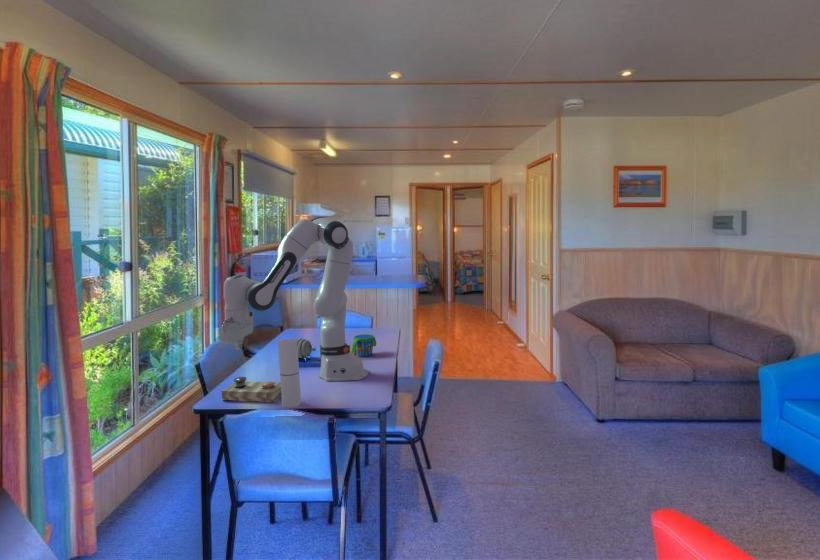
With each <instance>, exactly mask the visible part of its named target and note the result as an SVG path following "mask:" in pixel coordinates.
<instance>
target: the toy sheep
mask: <svg viewBox="0 0 820 560" xmlns="http://www.w3.org/2000/svg"><path fill="white" fill-rule="evenodd" d="M295 339H296V340H297V347H298V358H306V359H307V357H308V356H310V357H311V354H312V352H316V350H317V348H316V347H312V344H311V341H310V340H307V339H305V338H295Z"/></svg>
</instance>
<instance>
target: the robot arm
mask: <svg viewBox="0 0 820 560" xmlns="http://www.w3.org/2000/svg"><path fill="white" fill-rule="evenodd" d="M316 242H319V243H322V244H324V245H327V249H328V251H327V256H326V261H325V266H324V271H323V276H322V278H321V281H320V285H319V288H318V291H317V293H316V297H315V299H314V301H313V304H312V305H313V311H314V313H315V314H316V315H317V316H318V317H320V318H321V323H320V329H319V332H320V333H319V334H320V335H319V336H320V345H319V348H320V349H319V354H320V370H319V374H318V377H319V378H320V379H323V380H325V381H326V382H340V381H341V382H342V381H343V382H344V381H361V380H362V379H365V378H367V377H368V375H369V373H370V372H369V369H368V368H364V363H363V360H362V359H361V357H359V356H358V355H355V354H354V352H351V344H347V343H346V315H347V304H348V296H347V295H348V294H347V293H346V292H345V290H346V285H347V283H348V281H349V278H350V271H351V266H352V263H353V254H354V244H353V241H352V239H351V238H349V231H348V228H347V226H346V225H345V224H344V223H342V222H341V221H338V220H336V219H333V218H330V217H325V216H318V217H315V218H312V219H307V218H302V219H299V220H298V221H297V222H296V223H295V224H294V225H293V226H292V227H291V228H290V229H289V231H288V232H286V234H285V235H284V237H283V238H282V240H281V241H280V243H279V245H278V248H277V259H276V262H275V264H274V265H273V267H272V269H271V271H270V272H269V273H268V275H267V276H266V277H265V279H264V280H263V281H262V282H261V281H257V280H253V279H250V278H249V277H247V276H245V275H243V274H235V275H231V276H228V277H226V279H225V280H224V283H223V300H224V303H225V304H224V321H223V323H222V325H221V326H220V327H221V328H220V342H221V343H222V344H225V345H227V344H228V345H229V344H233V346H234V350H235V351H239V350H241V349H242V348H243V342H244V338H245V337H246V336H249V335H251V334H253V332H254V316H255V315H254V311H253V310H250V309H249V308H248V306H251V308H252V309H254V310H256V311H261V312H262V311H267V310H269V309H270V308H271V307H273V305H274V304H275V301H276V298H277V293H278V291H279V289H280V288H281V286H282V284H283V283H284V281H285V280H286V279H287V277H288V276H289V274H290V273H291V271H292V270H293V269H294V268H295V266H296V265H298V263H299V262H300V261H301V260H302V259H303V258H304V256H305V255H306V254H307V253H308V251H309V250H310V248H312V245H314V244H315V243H316Z"/></svg>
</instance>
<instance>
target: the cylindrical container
mask: <svg viewBox="0 0 820 560" xmlns="http://www.w3.org/2000/svg"><path fill="white" fill-rule="evenodd" d="M296 339H297V338H286V339H281V340H278V341H277V347H278V349H277V350H278V351H277V352H278V364H279V365H278V366H279V377H280V383H281V395H282V396H281V405H282V407H283V408H295V407H299V406H300V405H301V404H302V397H301V383H300V367H299V359H298V347H297V340H296Z"/></svg>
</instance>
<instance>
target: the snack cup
mask: <svg viewBox="0 0 820 560" xmlns="http://www.w3.org/2000/svg"><path fill="white" fill-rule="evenodd" d="M376 346H377V340H376V338H375V335H373V334H367V333H365V334H356V335H355V336H353V342H352V347H351V349H352V353H357V354H356V356H357V357H358V358H368V357H370V356H373V348H374V347H376Z"/></svg>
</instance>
